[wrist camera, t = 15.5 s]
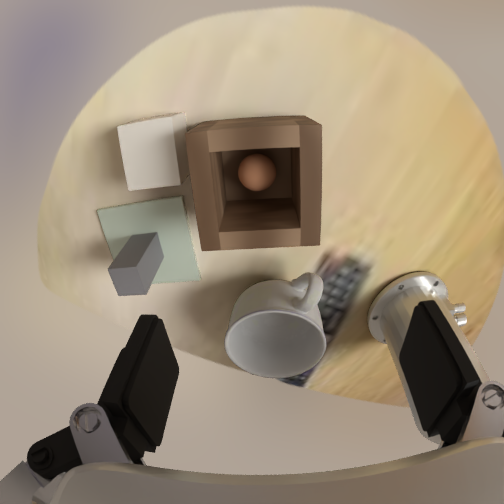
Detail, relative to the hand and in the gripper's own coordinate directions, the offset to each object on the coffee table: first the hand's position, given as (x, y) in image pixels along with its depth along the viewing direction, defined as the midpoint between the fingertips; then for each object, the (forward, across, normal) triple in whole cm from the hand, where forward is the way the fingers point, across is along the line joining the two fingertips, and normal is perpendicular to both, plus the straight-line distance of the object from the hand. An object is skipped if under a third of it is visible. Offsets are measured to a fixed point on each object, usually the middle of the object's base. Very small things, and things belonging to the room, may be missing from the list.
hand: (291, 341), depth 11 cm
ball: (+21, +2, -1) cm, 21 cm away
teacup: (+22, 0, +15) cm, 27 cm away
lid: (+22, +15, +6) cm, 27 cm away
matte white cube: (+22, +11, -4) cm, 25 cm away
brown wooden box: (+22, +2, -1) cm, 22 cm away
